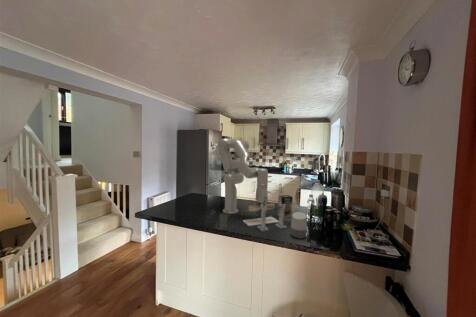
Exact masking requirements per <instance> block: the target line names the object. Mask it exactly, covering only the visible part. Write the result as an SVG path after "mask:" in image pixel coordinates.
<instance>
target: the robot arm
mask: <svg viewBox="0 0 476 317" xmlns="http://www.w3.org/2000/svg"><path fill="white" fill-rule="evenodd" d="M249 148H250V144H249V142H248V140H245V139H239V138H230V137H225V138H221V139H220V140H219V142H218V145H217V149H218V152H219V154H220V155H219V156H220V158H221V162H222V167H223V170H224V171H225V172H226V174H225V175H224V178H223V180H224V195H225V196H224V208H223V209H222V212H223V213H225V214H228V215H229V214H230V215H231V214H237V213H239V209H238V208H237V205H238V204H237V195H238V189H237V186H236V185H237V184H238V185H239V184H242V183H243V182H244V180H245V178H246V179H254V178H256V189H255V190H256V191H255V201H257V205H260V204H264V206H266V205H267V204H268V200H269V198H268V197H269V196H268V194H269V193H268V179H269V170H268V168H261V167H255V166H254V167H250V166H249V164H248V162H247V161H248V159H249V158H250V155H251V154H250V152H249V151H248V150H249ZM229 149H230V150H231V149H232V150H234V152H235V153H236V156H237V157H238V159H239V160H238V159H233V158H232V157H233V156H232V154H231V152H230V150H229ZM228 172H229V173H228ZM259 212H261V210H260V211H259Z"/></svg>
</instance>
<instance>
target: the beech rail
mask: <svg viewBox="0 0 476 317" xmlns="http://www.w3.org/2000/svg"><path fill="white" fill-rule="evenodd" d="M266 206H267V211H268V210H275V208H276V205H275V203H267V205H266ZM260 210H261V208H260V205H258V204H257V205H256V204H255V205H248V206H247V211H248V212H261V211H260Z"/></svg>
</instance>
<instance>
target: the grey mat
mask: <svg viewBox="0 0 476 317" xmlns="http://www.w3.org/2000/svg"><path fill="white" fill-rule="evenodd" d="M242 221H243V223H244V224H246V226H248V227H251V226H252V227H255V226H261V217H258V218H250V219H242ZM274 223H275V224H277V223H279V219H276V218H275V217H273V216H267V217H266V216H265V225H267V224H274Z"/></svg>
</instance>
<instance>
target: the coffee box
mask: <svg viewBox="0 0 476 317" xmlns="http://www.w3.org/2000/svg"><path fill="white" fill-rule="evenodd" d="M293 198H294V197H293V196H291V195H289V194H287V195H286V194H284V195H278V199H277V200H278V202H282V204H286V206H285V209H284V218H283V219H289V218H292V214H293V200H294V199H293ZM278 202H277V203H278ZM279 213H280V207H278V206H277V216H278V217H279Z"/></svg>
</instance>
